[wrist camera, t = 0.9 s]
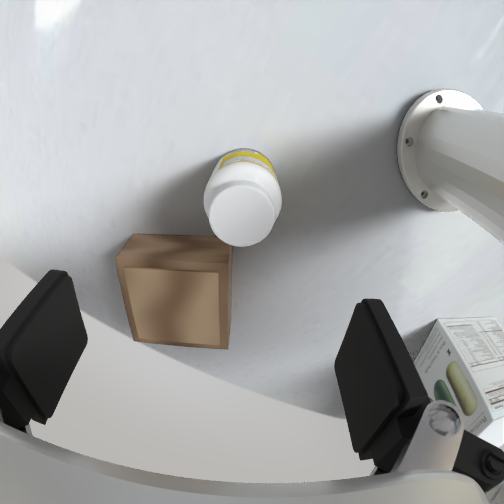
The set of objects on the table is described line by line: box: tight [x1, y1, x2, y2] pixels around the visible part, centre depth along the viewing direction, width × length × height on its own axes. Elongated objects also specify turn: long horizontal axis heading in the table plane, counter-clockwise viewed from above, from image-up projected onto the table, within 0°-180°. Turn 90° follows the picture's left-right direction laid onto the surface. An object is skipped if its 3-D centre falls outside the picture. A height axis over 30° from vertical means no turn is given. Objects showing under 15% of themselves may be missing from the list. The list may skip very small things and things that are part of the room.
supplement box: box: [413, 317, 504, 448], centre depth 31 cm, size 13×13×18 cm
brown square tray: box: [115, 234, 232, 349], centre depth 30 cm, size 10×10×5 cm
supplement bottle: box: [204, 148, 282, 247], centre depth 23 cm, size 5×5×10 cm
